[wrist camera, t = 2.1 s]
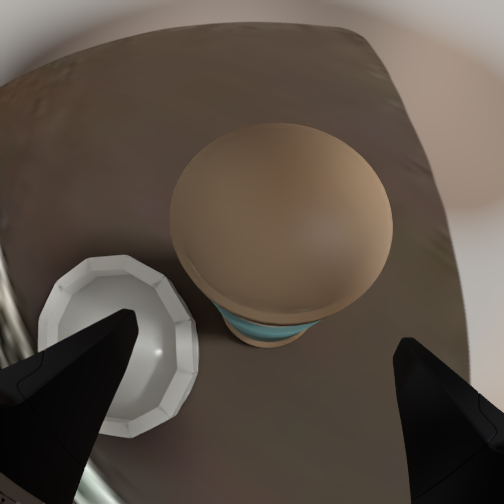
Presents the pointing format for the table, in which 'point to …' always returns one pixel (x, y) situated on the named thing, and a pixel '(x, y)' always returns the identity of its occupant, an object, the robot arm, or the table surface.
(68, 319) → the ceramic dish
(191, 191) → the disc
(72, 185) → the table surface
